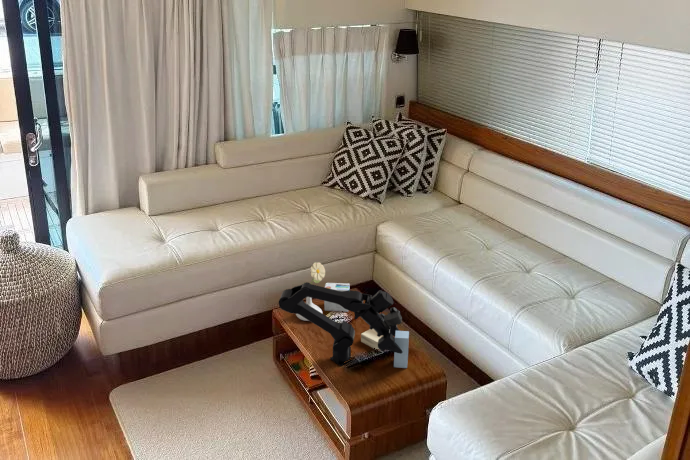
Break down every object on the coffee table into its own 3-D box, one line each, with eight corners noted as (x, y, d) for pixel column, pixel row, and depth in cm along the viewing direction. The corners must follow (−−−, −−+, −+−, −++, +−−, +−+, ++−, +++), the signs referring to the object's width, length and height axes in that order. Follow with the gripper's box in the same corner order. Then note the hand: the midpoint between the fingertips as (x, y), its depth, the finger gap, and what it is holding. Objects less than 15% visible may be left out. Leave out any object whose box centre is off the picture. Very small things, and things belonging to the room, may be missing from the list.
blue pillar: (393, 367, 255) (394, 337, 250) (394, 359, 260) (395, 330, 255) (407, 368, 255) (408, 338, 250) (407, 360, 259) (409, 331, 254)
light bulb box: (349, 304, 299) (350, 282, 295) (348, 312, 293) (348, 290, 288) (325, 303, 300) (325, 281, 295) (323, 311, 294) (323, 289, 289)
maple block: (377, 351, 266) (377, 342, 264) (361, 342, 271) (361, 333, 270) (392, 342, 272) (393, 333, 270) (376, 333, 277) (376, 325, 276)
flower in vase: (302, 325, 282) (301, 272, 272) (291, 313, 291) (290, 261, 282) (330, 318, 288) (330, 265, 278) (319, 306, 297) (318, 255, 287)
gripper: (387, 319, 240) (417, 347, 243) (390, 293, 257) (418, 321, 260) (365, 336, 244) (395, 364, 247) (369, 310, 261) (397, 337, 264)
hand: (402, 346), depth 254 cm, fingers open, 9 cm apart
